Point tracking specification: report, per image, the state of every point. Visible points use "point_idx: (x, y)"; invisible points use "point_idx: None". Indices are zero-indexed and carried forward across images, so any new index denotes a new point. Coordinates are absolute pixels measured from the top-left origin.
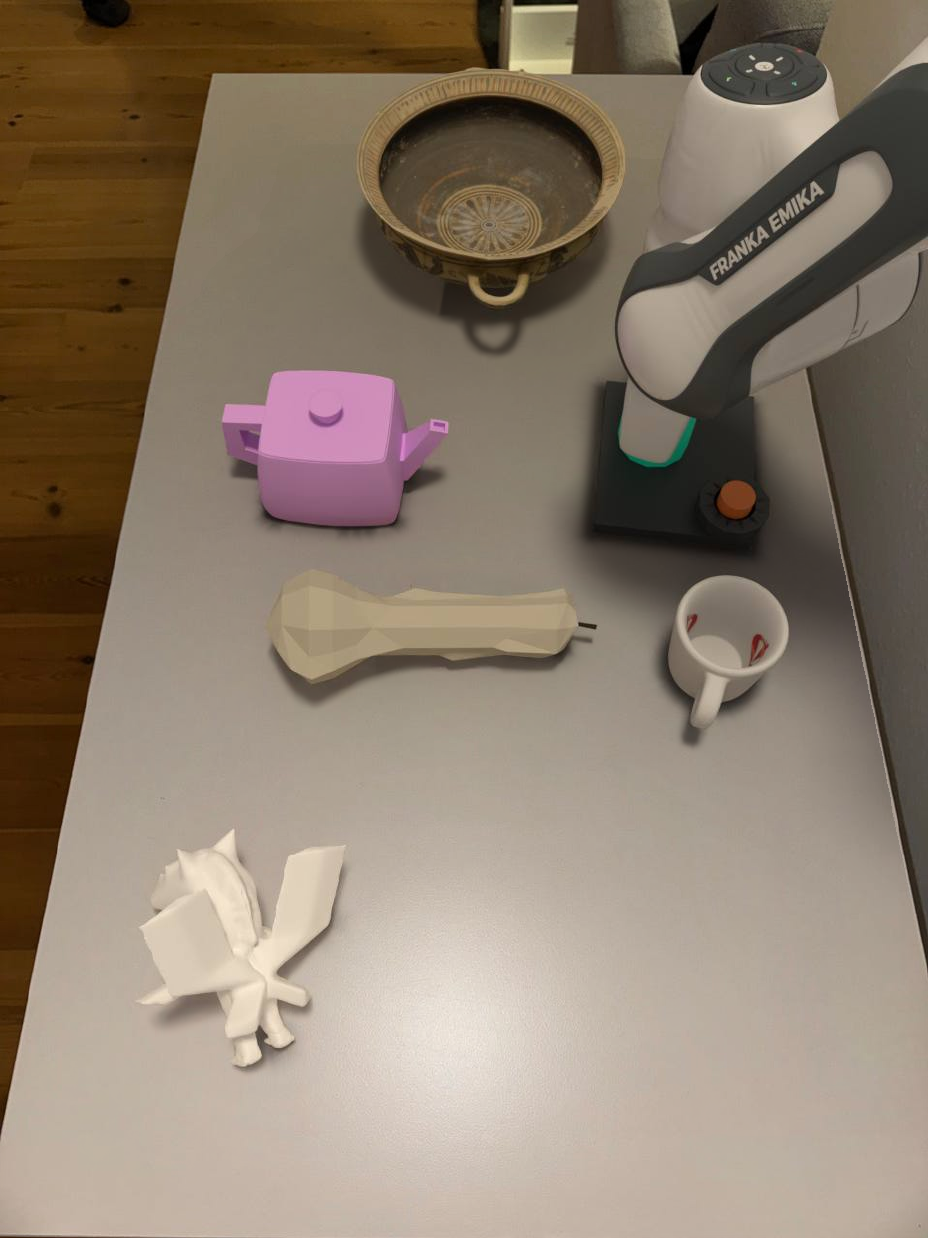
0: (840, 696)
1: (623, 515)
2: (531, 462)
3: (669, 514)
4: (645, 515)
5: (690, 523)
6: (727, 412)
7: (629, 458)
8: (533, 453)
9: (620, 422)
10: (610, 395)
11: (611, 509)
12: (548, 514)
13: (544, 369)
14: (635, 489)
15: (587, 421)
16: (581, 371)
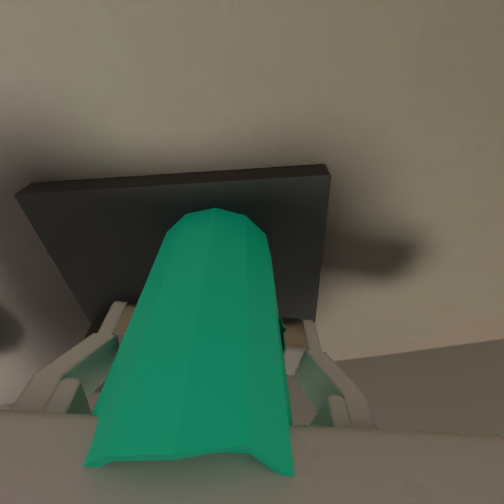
0: (14, 392)
1: (58, 233)
2: (115, 33)
3: (97, 286)
4: (77, 260)
5: (97, 307)
6: None
7: (168, 230)
8: (140, 34)
9: (211, 222)
10: (295, 185)
11: (57, 216)
12: (15, 97)
13: (380, 19)
14: (114, 244)
15: (251, 142)
16: (370, 113)
